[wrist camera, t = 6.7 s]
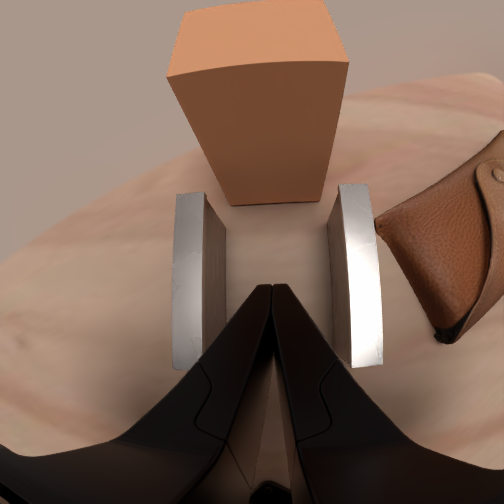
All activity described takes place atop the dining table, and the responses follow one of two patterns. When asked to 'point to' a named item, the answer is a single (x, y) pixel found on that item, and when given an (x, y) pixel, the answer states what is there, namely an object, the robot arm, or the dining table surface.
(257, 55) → the block
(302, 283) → the dining table surface
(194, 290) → the silver twin-wall channel
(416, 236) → the sunglasses case
